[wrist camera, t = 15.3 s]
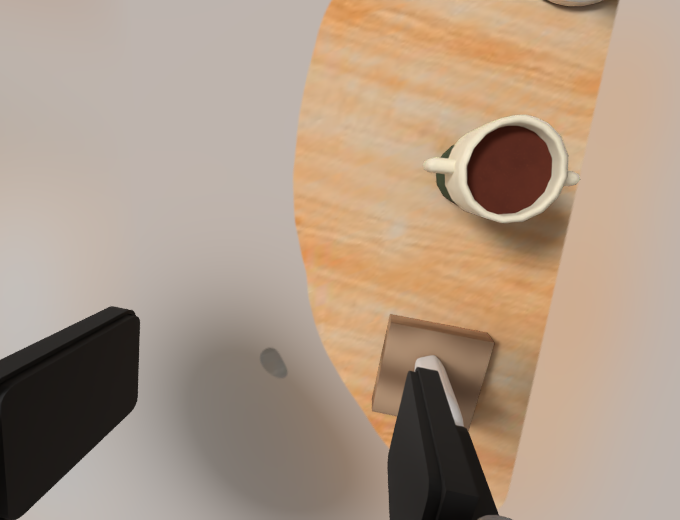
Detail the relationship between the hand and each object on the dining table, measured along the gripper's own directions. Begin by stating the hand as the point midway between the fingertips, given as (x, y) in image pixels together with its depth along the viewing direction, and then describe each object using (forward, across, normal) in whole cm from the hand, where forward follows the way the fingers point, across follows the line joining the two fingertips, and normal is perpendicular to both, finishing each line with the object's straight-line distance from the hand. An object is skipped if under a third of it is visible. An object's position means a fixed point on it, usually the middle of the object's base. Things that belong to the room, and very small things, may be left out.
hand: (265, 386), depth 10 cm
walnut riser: (+30, -12, +14) cm, 35 cm away
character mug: (+30, -11, -8) cm, 33 cm away
